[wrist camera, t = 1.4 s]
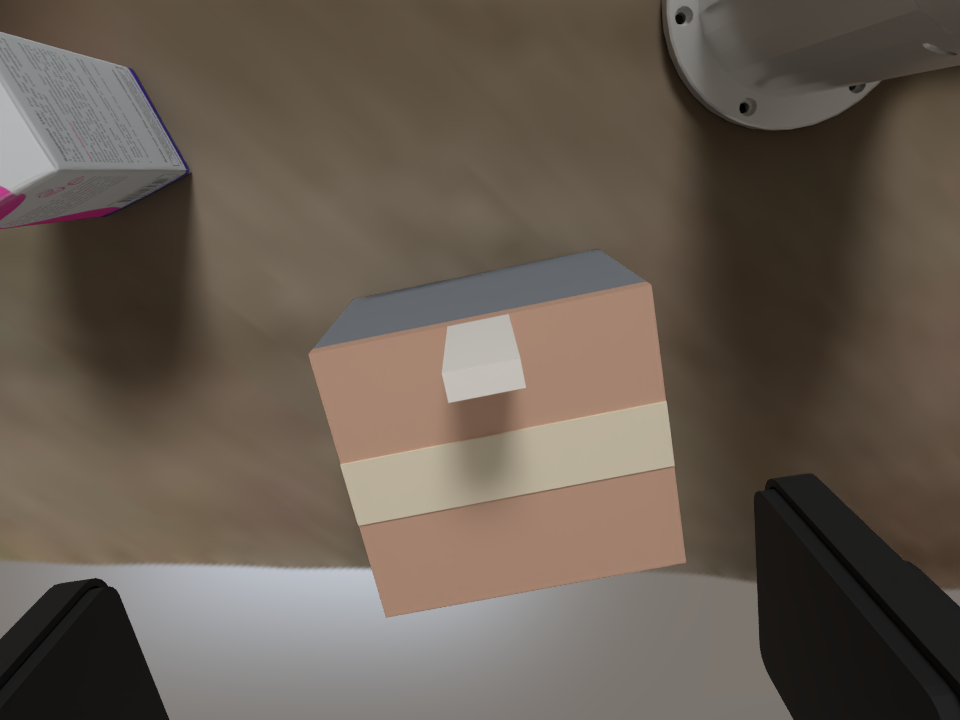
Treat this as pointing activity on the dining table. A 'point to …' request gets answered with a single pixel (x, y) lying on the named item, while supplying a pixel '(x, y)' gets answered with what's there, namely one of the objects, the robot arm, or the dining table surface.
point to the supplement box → (76, 136)
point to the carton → (478, 295)
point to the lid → (507, 449)
